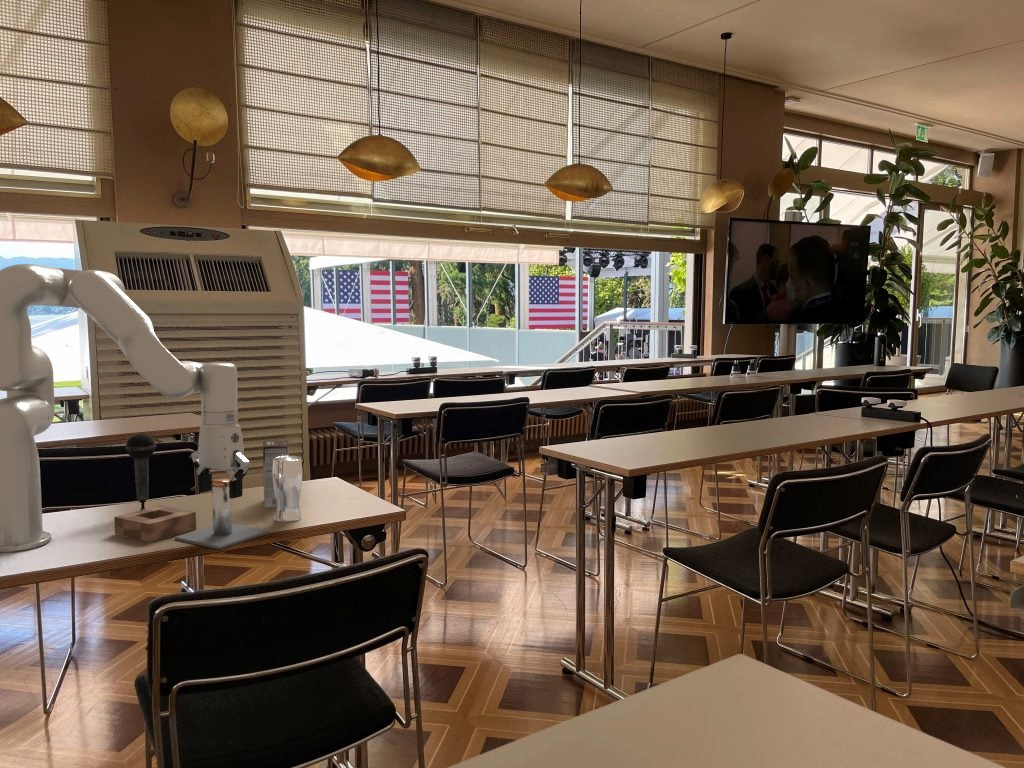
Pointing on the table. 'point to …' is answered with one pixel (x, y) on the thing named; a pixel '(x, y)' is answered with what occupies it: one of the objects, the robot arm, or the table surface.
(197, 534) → the slate mat
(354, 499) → the table surface
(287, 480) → the beer glass
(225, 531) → the steel peg
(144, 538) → the eye block
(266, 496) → the coffee box
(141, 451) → the microphone
